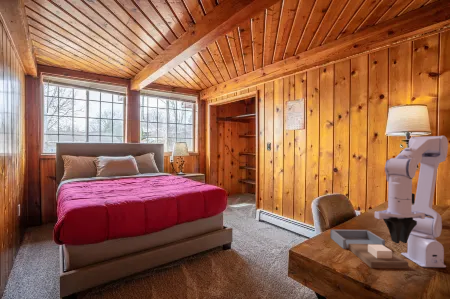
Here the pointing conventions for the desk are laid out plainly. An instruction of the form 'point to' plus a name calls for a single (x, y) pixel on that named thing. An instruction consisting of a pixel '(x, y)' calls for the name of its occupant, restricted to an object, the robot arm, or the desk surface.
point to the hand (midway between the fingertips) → (399, 241)
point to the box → (355, 237)
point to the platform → (374, 262)
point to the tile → (379, 251)
